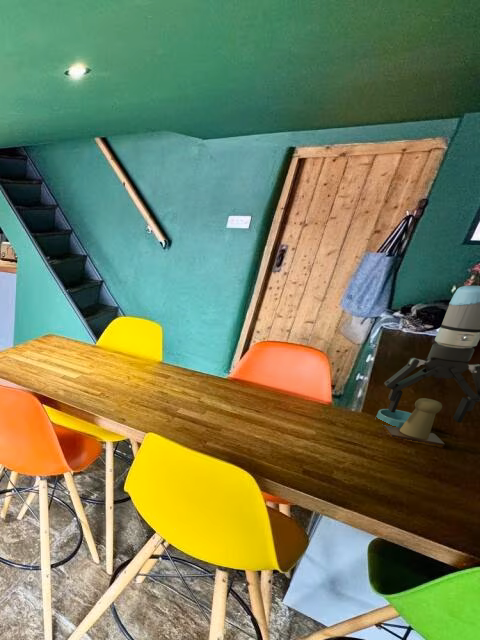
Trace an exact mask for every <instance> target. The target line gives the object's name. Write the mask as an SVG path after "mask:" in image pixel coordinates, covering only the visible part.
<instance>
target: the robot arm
mask: <svg viewBox="0 0 480 640" xmlns="http://www.w3.org/2000/svg"><path fill="white" fill-rule="evenodd" d="M434 341H435V342H433V344H432V346H431V348H430V350H429V352H428V355H427V357H426V359H420V358H417V357H411V358H409V359H408V362H407V364H405V365H404V366H403V367H402V368H400V369H399V370H398V371H397V372H396V373H394V374H393V375H392V376H391V377H390V378H388V379H387V380H385V382H384V383H383V384H384V386H385V387H386V388H388V389H390V392H389V394H388V400H389V401H390V403H389V405H388V407H387V409H389V410H390V412H393V413H395V410H397V408H398V406H399V403H400V401H401V399H402V396H403V392H404V391H402V390H403V389H406V388H408V387H410V386H412V385H414V384H416V383H417V382H419V381H422V380H424V379H427V378H429V377H433V378H437V379H438V378H443V379H447V380H450V379H454V381H455V382H456V384H457V385H458V387H460V389H461V391H462V392H463V393H464V394H465V396H466V397H462V398H461V400H460V402H459V404H458V405H457V409H456V410H455V413H454V415H453V417H452V419H453V420H454V421H455V422H457V423H462V422H463V420H464V418H465V417H466V414H467V412H471V411H473V410H474V407H475V405H476V403H479V402H480V364H479V363H474V364H469V362H470V361H471V360H472V357H473V355H474V352H475V350H476V349H475V348H474V347H477V346H478V343H479V341H480V285H462V286H460V287H458V288H456V290H455V292H454V293H453V296H452V297H451V300H450V301H449V303H448V307H447V309H446V312H445V315H444V318H443V320H442V323H441V325H440V327H439V329H438V332H437V334H436V336H435V338H434ZM421 365H423V368H421V369H420V370H418V371H417V372H415V373H413V374H412V375H410V374H411V373H412V372H413V371H414V370H416V368H419V367H420V366H421ZM466 371H469V372H470V373H471V376H472V379H473V384H474V386H475V390H476V392H474V390H473V389H472V387H471V386H470V385H469V383H468V382H467V381H466V380H465V377H464V376H463V373H464V372H466ZM408 375H409V376H408ZM405 377H406V378H405Z"/></svg>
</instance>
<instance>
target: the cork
mask: <svg viewBox="0 0 480 640" xmlns="http://www.w3.org/2000/svg"><path fill="white" fill-rule="evenodd" d="M442 409H443V403H441V402H440V401H438V400H435V399H432V398H426V397H421V398H418V399H417V400H416V401H415V403H414V409H413V411H412V412H411V413H412V414H411V415H410V416H409V418H408V419H407V421H406V422H405V423H404V425H403V426H402V427H401V429H400V432H402V433H404V434H406V435H408V436H411V437H415V438H420V439H428V438H429V435H430V433H432V432H431V431H432V428H433V424H434V421H435V418H436V414H437V413H440V411H442Z"/></svg>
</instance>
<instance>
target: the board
mask: <svg viewBox="0 0 480 640" xmlns="http://www.w3.org/2000/svg"><path fill="white" fill-rule="evenodd" d="M383 427H385V428H386V429H387V430H388V432H389V433H390V435H391V436H392V437H398V438H401V439H407V440H412V441H418V442H425V443H429V444H436V445H437V444H438V445H443V446H444V447H445V443H444V441H443V440H442V439H441V438H439V436H438V435H436V433H433V432H430V435H429V438H428V439H420V438H415V437H411V436H408V435H406V434H404V433H402V432H400V429H401V428H398V427H392V426H386V425H383Z"/></svg>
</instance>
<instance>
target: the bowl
mask: <svg viewBox="0 0 480 640" xmlns="http://www.w3.org/2000/svg"><path fill="white" fill-rule="evenodd" d="M411 414H412V412H409V411H406V410H405V411H404V410H399V409H396V410H395V413H393V412H390V410H389V409H388V408H382V409H379V410H378V411H377V414H376V416H375V418H376V417H377V418H378V419H380V420H382V421H384V422H386V423H388V424H390V425H392V426H396V427H398V428H401V427H402V426H403V425H404V423H405V422H406V421H407V419H408V418H409V416H410V415H411Z"/></svg>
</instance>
